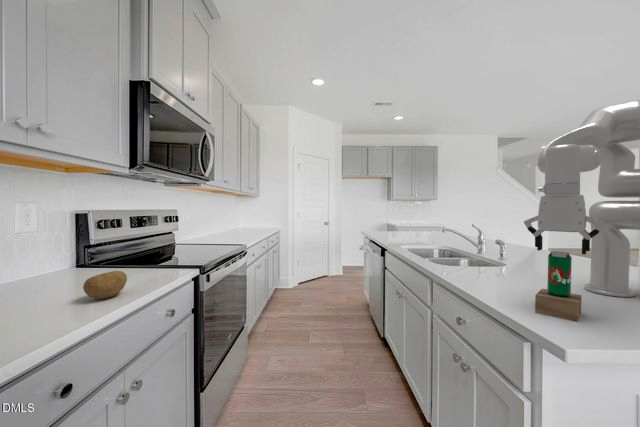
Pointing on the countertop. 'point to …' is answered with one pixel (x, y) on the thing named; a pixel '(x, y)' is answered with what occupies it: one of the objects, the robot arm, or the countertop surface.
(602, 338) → the countertop surface
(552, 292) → the soda can
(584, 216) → the robot arm
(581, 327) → the countertop surface
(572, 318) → the walnut block
